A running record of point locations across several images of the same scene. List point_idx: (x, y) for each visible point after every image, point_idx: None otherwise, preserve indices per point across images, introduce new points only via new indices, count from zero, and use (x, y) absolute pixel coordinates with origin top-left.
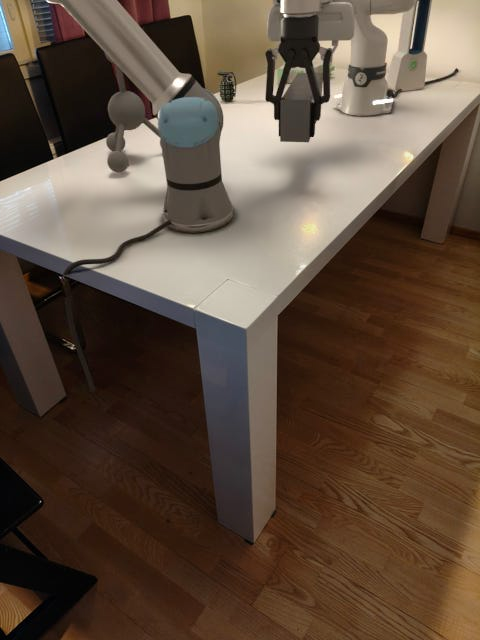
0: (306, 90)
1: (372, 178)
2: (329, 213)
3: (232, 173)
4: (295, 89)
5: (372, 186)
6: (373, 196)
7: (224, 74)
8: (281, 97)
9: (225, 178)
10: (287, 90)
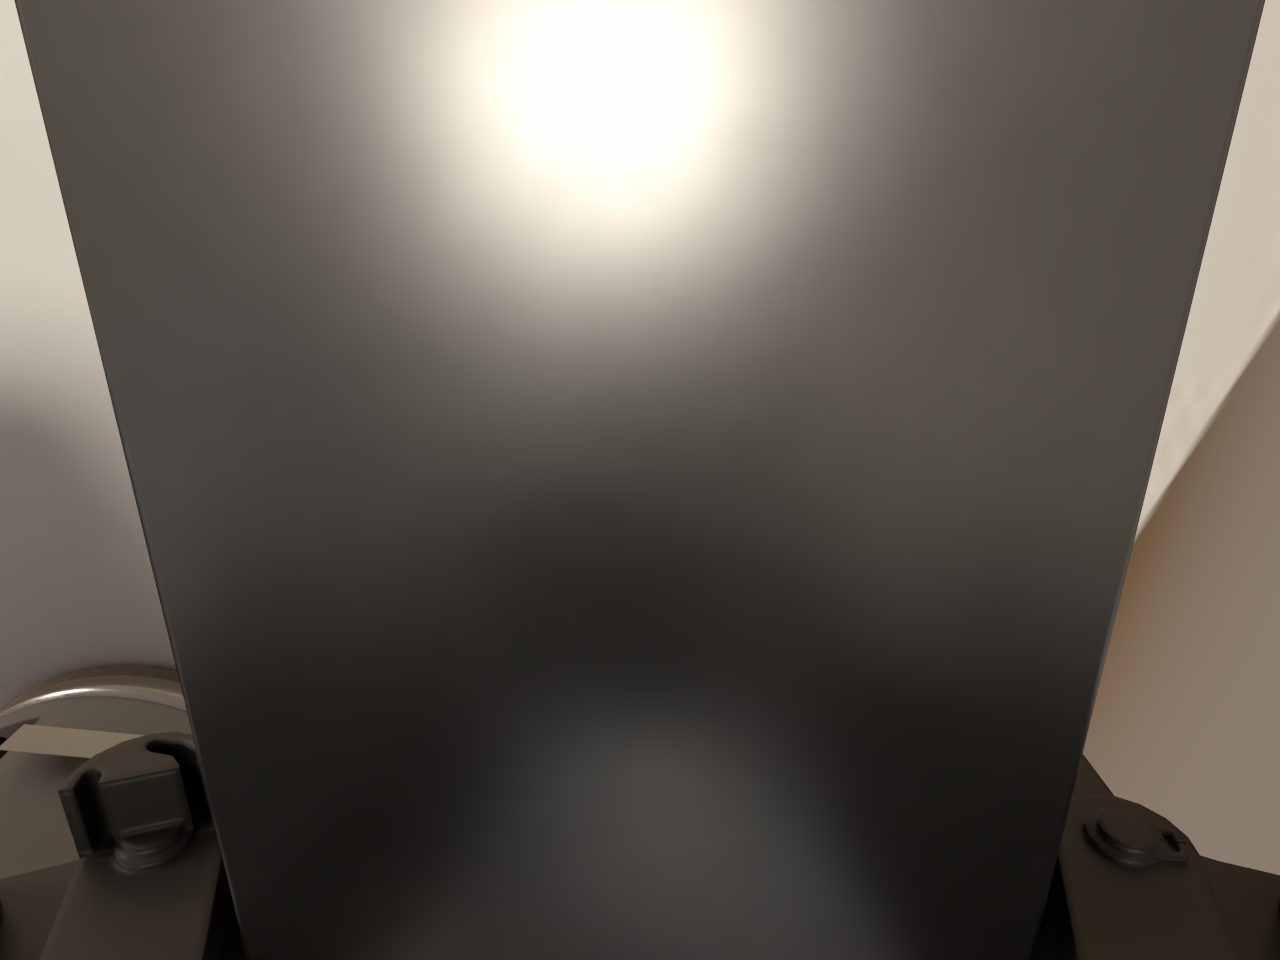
0: (844, 585)
1: (1260, 101)
2: None
3: (31, 123)
4: (434, 458)
5: (1220, 278)
6: (1186, 453)
7: None
8: (224, 924)
9: (30, 248)
10: (193, 600)
